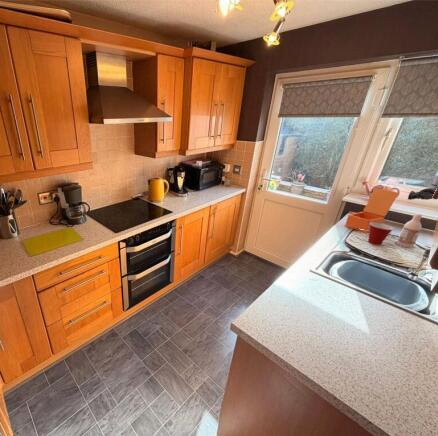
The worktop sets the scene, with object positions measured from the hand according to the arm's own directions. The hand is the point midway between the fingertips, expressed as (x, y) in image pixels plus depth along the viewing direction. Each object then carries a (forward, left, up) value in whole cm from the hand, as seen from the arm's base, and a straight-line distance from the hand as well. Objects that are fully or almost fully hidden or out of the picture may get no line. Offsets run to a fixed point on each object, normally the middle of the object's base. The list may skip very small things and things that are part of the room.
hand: (409, 197), depth 150 cm
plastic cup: (-34, +11, -24) cm, 43 cm away
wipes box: (-8, +17, -24) cm, 30 cm away
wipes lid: (+2, +13, -6) cm, 14 cm away
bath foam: (-27, -3, -24) cm, 36 cm away
